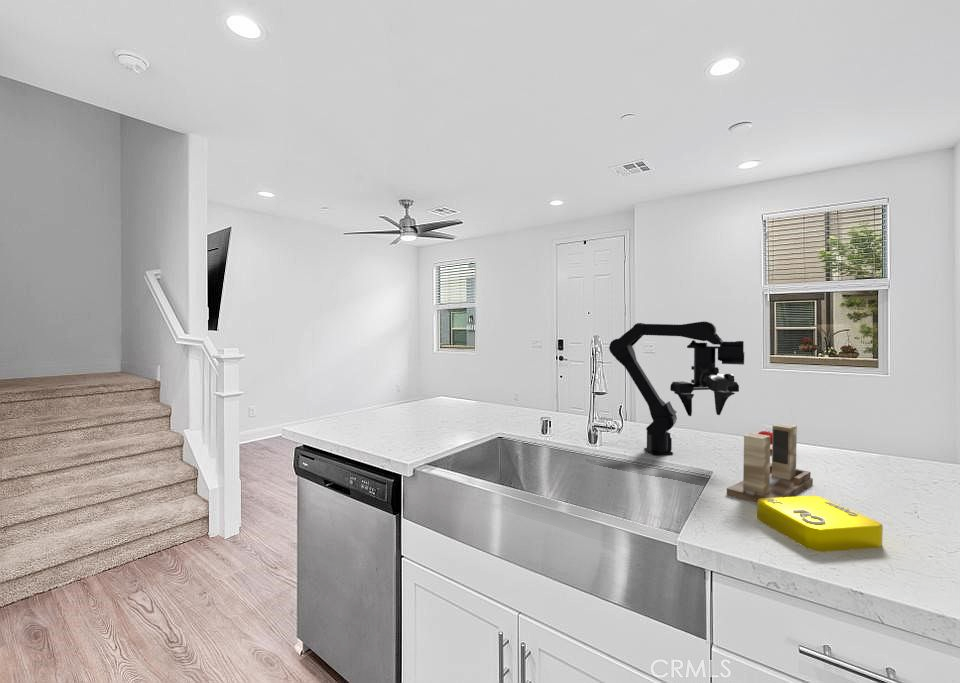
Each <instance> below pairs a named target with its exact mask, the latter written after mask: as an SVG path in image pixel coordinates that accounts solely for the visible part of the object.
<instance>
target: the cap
mask: <svg viewBox="0 0 960 683" xmlns="http://www.w3.org/2000/svg"><path fill="white" fill-rule="evenodd" d="M757 434H762V435H767V436H770V446H772V432H770V431H767V430H762V431H759V432H758V433H757Z"/></svg>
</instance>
